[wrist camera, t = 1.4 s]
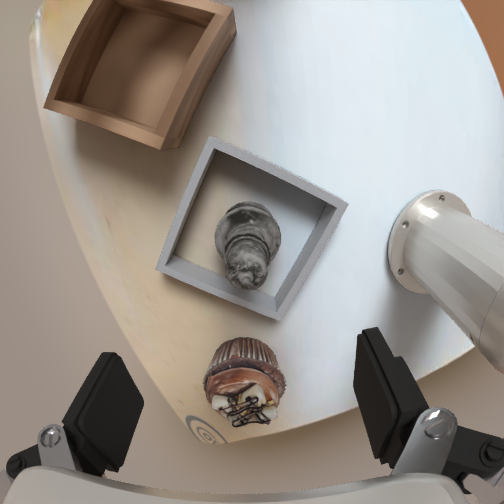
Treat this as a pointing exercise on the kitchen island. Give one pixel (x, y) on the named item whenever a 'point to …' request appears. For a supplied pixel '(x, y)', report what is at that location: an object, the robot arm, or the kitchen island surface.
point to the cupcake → (244, 382)
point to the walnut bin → (142, 66)
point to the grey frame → (221, 284)
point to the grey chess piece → (247, 244)
